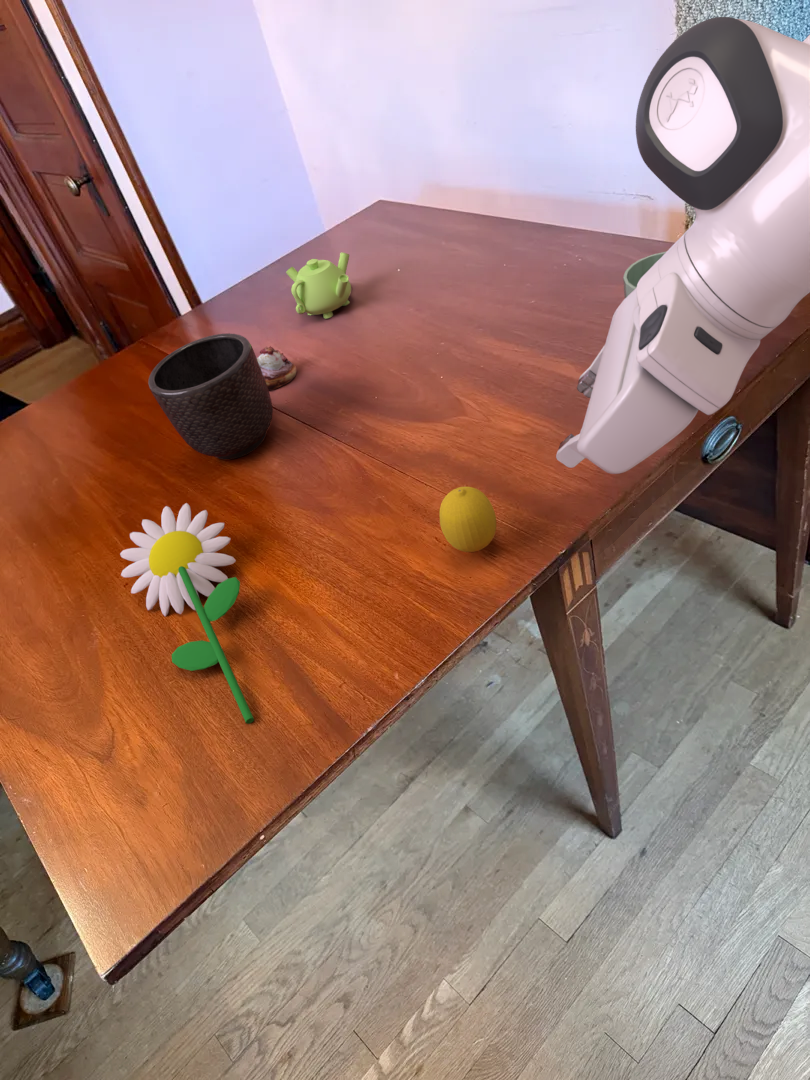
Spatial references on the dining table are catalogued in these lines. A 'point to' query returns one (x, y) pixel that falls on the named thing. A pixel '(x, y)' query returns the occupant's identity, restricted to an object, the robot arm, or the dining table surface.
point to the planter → (215, 395)
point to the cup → (638, 272)
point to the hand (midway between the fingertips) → (574, 422)
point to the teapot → (321, 286)
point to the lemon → (467, 519)
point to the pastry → (275, 368)
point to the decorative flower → (187, 583)
